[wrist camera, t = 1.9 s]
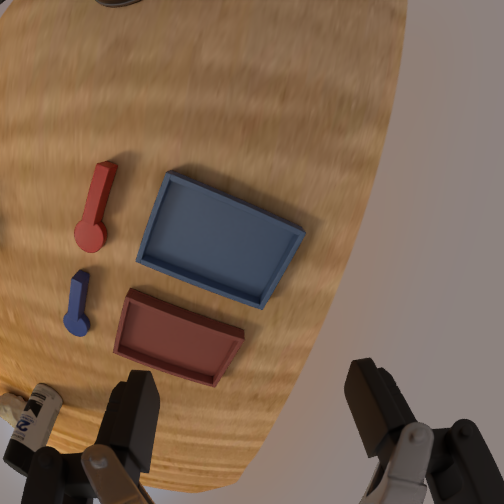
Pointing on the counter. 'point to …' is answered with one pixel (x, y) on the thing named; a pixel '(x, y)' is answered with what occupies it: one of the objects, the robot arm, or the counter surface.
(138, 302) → the red tray
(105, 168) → the red spoon
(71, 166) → the counter surface
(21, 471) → the spray can
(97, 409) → the counter surface
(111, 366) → the counter surface
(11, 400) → the bone fragment
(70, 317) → the blue spoon
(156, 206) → the blue tray
